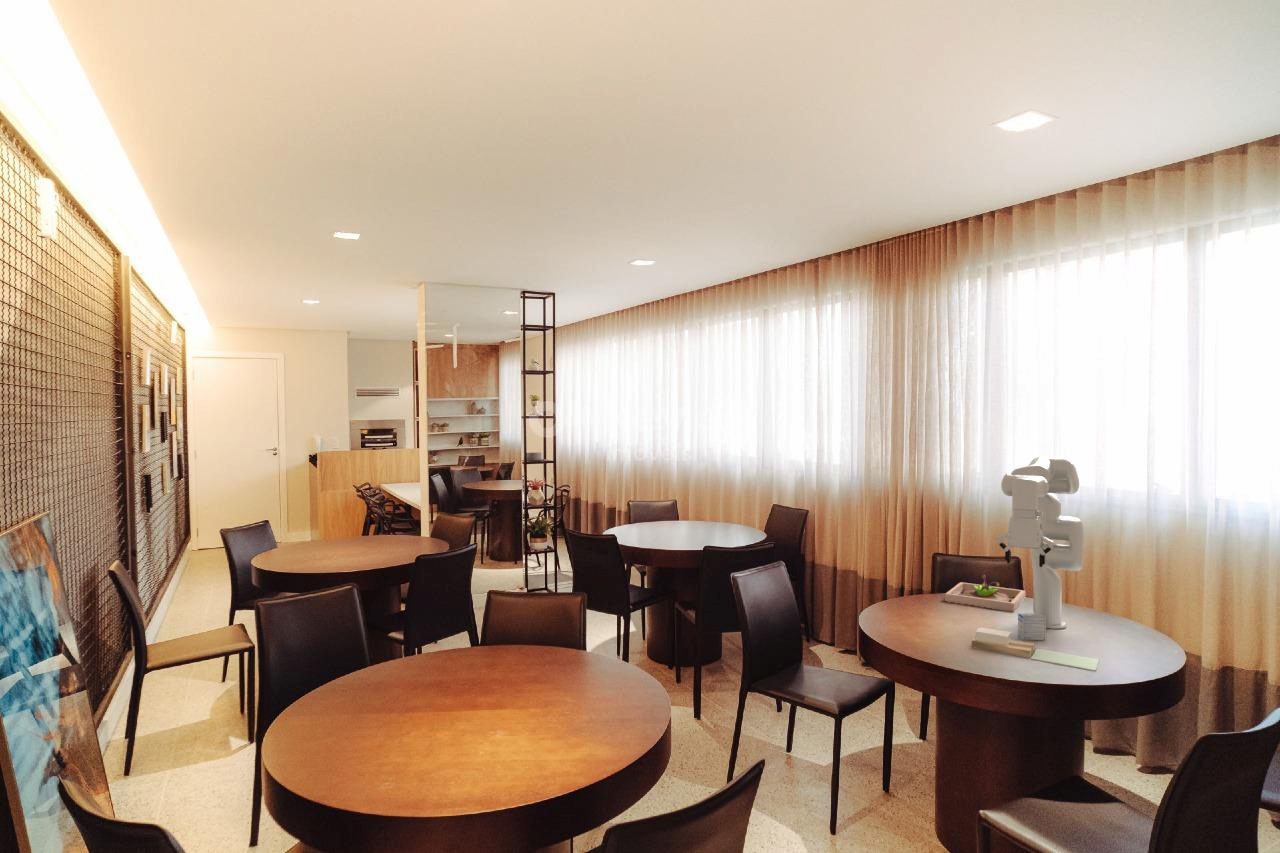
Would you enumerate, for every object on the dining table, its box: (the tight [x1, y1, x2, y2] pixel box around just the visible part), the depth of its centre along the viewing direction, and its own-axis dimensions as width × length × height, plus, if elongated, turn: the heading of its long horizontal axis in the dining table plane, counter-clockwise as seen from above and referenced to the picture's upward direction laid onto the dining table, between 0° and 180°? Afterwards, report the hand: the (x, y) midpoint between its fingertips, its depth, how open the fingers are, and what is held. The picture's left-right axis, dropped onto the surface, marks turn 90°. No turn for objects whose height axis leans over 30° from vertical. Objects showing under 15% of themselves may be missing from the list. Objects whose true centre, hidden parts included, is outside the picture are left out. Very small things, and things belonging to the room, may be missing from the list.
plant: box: [962, 574, 1012, 602], centre depth 304 cm, size 20×20×11 cm
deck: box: [971, 636, 1036, 659], centre depth 239 cm, size 10×18×2 cm, turn 52°
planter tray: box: [944, 581, 1026, 613], centre depth 304 cm, size 27×27×4 cm
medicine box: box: [1017, 612, 1047, 641], centre depth 251 cm, size 8×4×9 cm, turn 84°
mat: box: [1030, 648, 1100, 672], centre depth 228 cm, size 12×18×1 cm, turn 52°
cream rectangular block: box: [975, 626, 1012, 645], centre depth 241 cm, size 6×10×3 cm, turn 52°
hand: (1024, 564), depth 232 cm, fingers open, 9 cm apart
